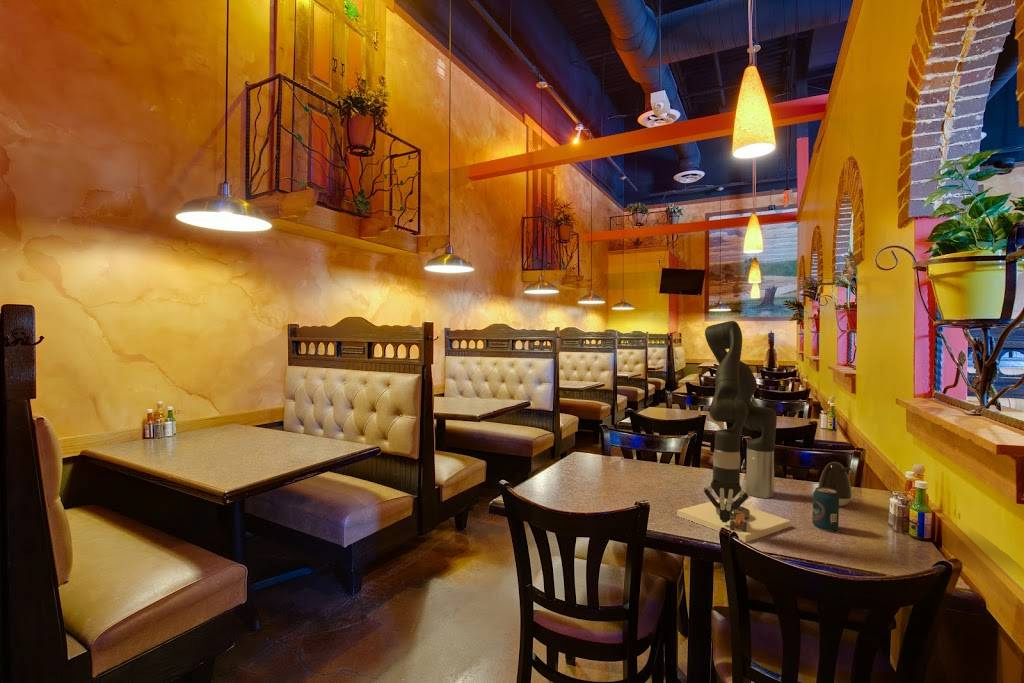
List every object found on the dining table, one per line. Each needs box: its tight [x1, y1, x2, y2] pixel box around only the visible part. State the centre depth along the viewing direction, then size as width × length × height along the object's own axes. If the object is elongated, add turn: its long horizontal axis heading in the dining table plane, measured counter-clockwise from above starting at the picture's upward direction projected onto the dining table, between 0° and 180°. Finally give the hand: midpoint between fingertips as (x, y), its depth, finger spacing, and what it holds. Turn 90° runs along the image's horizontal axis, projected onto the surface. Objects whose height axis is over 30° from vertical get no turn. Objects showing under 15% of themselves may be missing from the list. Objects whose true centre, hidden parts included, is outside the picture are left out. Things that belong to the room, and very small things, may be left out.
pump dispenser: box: [817, 461, 853, 507], centre depth 178 cm, size 10×10×15 cm
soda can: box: [811, 486, 840, 532], centre depth 154 cm, size 7×7×12 cm
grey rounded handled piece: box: [716, 500, 750, 528], centre depth 155 cm, size 18×10×4 cm, turn 165°
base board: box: [676, 498, 791, 543], centre depth 158 cm, size 24×24×4 cm
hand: (724, 521), depth 149 cm, fingers closed
